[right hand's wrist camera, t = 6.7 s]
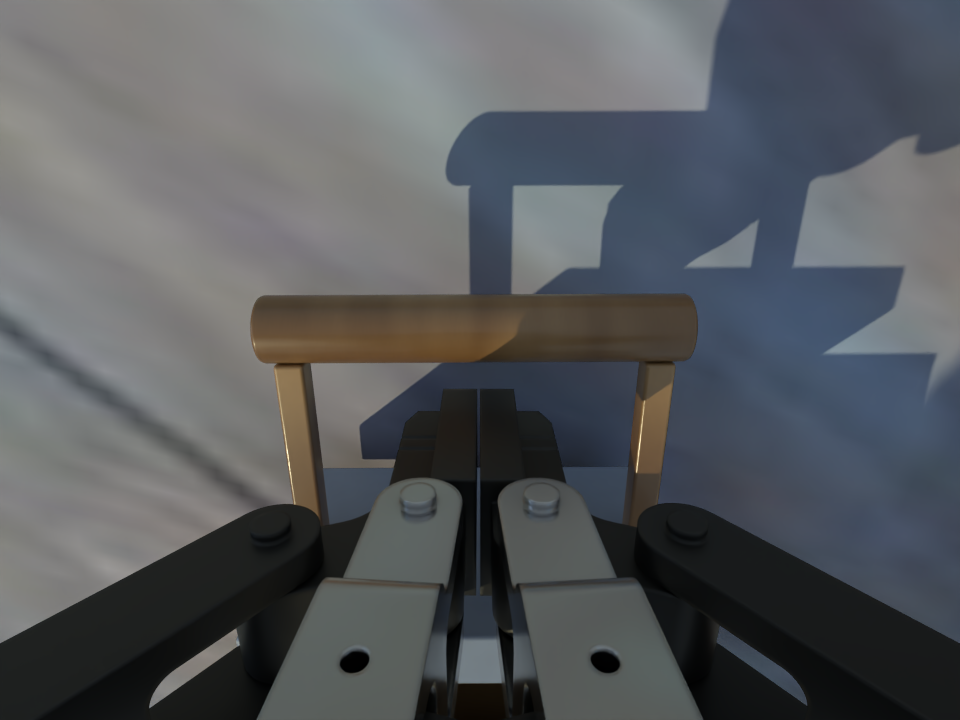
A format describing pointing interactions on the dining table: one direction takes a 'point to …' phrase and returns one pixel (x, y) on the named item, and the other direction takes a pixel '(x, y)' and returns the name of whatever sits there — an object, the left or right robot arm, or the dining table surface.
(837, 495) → the dining table surface
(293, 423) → the drawer
